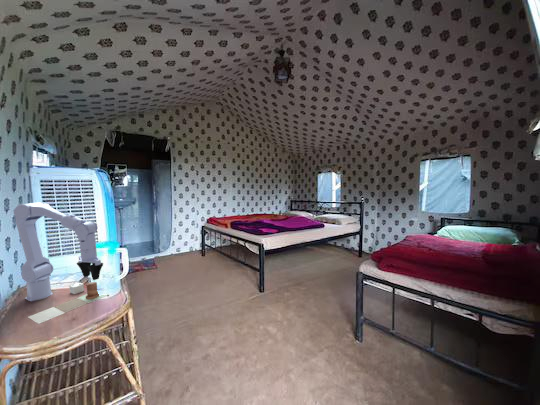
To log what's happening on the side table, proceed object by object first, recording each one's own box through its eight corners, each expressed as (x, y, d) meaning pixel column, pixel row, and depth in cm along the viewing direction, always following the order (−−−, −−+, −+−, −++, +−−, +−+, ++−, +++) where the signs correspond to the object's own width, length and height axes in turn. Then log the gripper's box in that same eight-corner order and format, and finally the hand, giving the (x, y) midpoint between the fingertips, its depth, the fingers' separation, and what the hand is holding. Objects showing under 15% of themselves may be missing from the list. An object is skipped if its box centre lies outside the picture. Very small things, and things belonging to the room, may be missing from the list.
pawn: (83, 297, 113) (82, 284, 112) (95, 292, 117) (94, 280, 116) (89, 300, 110) (88, 287, 109) (102, 295, 115) (100, 282, 114)
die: (70, 293, 118) (69, 285, 117) (80, 290, 121) (79, 282, 121) (74, 295, 116) (73, 287, 115) (84, 292, 119) (83, 283, 119)
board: (27, 318, 98) (27, 317, 98) (97, 291, 120) (97, 290, 120) (38, 325, 93) (38, 323, 93) (108, 295, 115) (108, 294, 115)
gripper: (69, 249, 111) (72, 278, 113) (86, 253, 104) (90, 284, 106) (87, 244, 117) (90, 272, 119) (104, 248, 110) (107, 278, 112)
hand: (91, 277), depth 113 cm, fingers open, 7 cm apart
